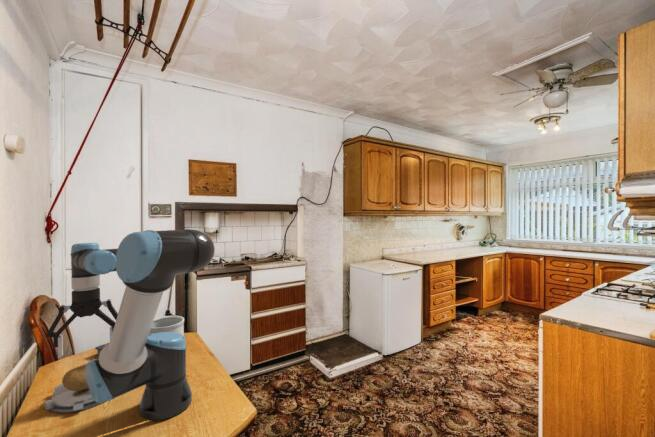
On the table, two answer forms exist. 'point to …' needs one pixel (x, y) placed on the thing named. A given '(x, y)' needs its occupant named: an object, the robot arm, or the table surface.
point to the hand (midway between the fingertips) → (87, 351)
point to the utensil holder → (168, 325)
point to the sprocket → (69, 398)
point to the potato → (76, 379)
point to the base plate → (64, 411)
